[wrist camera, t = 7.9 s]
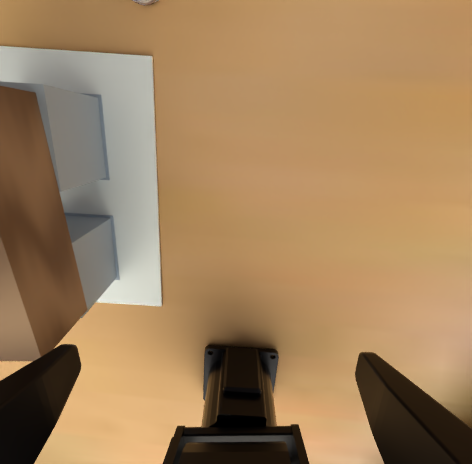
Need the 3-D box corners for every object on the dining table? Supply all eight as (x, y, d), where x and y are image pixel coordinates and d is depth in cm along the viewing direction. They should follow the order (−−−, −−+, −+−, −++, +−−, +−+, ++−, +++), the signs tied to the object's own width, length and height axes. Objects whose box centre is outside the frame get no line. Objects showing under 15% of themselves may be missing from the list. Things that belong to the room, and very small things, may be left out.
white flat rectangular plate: (162, 304, 23) (161, 306, 22) (19, 295, 23) (17, 297, 22) (152, 56, 16) (151, 55, 16) (-44, 43, 16) (-48, 42, 16)
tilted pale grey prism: (106, 177, 19) (60, 191, 14) (34, 172, 19) (-35, 185, 14) (97, 97, 17) (43, 84, 12) (19, 92, 17) (-66, 77, 12)
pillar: (116, 277, 22) (81, 318, 17) (54, 273, 21) (1, 313, 17) (110, 218, 20) (69, 244, 15) (42, 213, 20) (-20, 238, 15)
